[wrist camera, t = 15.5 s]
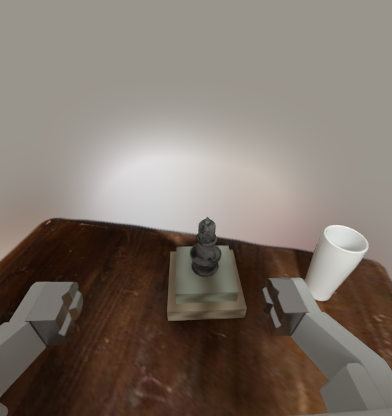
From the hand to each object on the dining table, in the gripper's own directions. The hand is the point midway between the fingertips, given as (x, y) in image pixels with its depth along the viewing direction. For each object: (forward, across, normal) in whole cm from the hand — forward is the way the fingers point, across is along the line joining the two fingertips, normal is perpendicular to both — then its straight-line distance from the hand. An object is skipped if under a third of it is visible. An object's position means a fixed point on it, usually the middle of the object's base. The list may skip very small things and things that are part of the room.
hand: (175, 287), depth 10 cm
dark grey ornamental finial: (+23, -6, +26) cm, 35 cm away
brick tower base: (+22, -6, +31) cm, 39 cm away
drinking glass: (+20, -29, +30) cm, 47 cm away
